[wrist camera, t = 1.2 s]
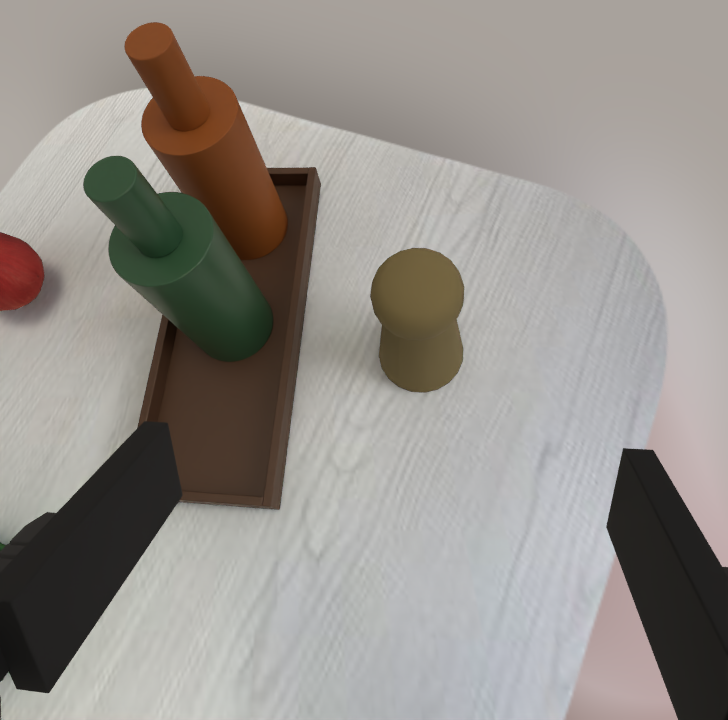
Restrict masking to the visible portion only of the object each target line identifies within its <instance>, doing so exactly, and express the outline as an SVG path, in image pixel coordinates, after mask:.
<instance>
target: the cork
mask: <svg viewBox="0 0 728 720" xmlns="http://www.w3.org/2000/svg"><path fill="white" fill-rule="evenodd" d="M370 297H371V301H372V305H373V309H374V313H375V315H376V316H377V318H378V319H379V321H380V323H381V324H382V329H381V340H380V350H379V358H380V363H381V367H382V369H383V371H384V372H385V374H386V375H387V377H388V379H390V380H391V381H392V382H393V383H395V384H396V385H397V386H398V387H401V388H403V389H406V390H408V391H411V392H429V391H433V390H437V389H439V388H441V387H442V386H444V385H446V384H447V383H449V382H450V381H451V380H452V379H453V377H454V376H455V375H456V374H457V373H458V371H459V368H460V366H461V363H462V361H463V345H462V341H461V337H460V332H459V328H458V324H457V318H458V316H459V313H460V311H461V308H462V306H463V301H464V285H463V282H462V278H461V275H460V273H459V271H458V269H457V268H456V267H455V265H454V264H453V263H452V261H451V260H450V259H448V258H447V257H445V256H444V255H442V254H441V253H439V252H436V251H433V250H430V249H426V248H411V249H407V250H403V251H400V252H398V253H396V254H394V255H393V256H391V257H389V258H388V259H387V260H386V261H385V262H384V263H383V264H382V265H381V266H380V267H379V268H378V270H377V272H376V274H375V277H374V279H373V282H372V287H371V296H370Z"/></svg>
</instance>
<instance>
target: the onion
mask: <svg viewBox="0 0 728 720" xmlns="http://www.w3.org/2000/svg"><path fill="white" fill-rule="evenodd" d="M43 280H44V270H43V264H42V260H41V258H40V257H39V256H38V254H37V253H36V252H35V251H34V250H33V249H32V248H31V247H30V246H29V245H28V244H27V243H26V242H24V241H22V240H21V239H18V238H16V237H13V236H10V235H7V234H4V233H1V232H0V311H2V310H16V309H18V308H20V307H22V306H25V305H27V304H29V303H30V302H31V301H32V300H34V299H35V298H36V297H37V295H38V294H39V292H40V290H41V287H42V284H43Z"/></svg>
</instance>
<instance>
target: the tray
mask: <svg viewBox="0 0 728 720" xmlns="http://www.w3.org/2000/svg"><path fill="white" fill-rule="evenodd" d="M267 170H268V173H269V175H270V177H271V180H272V182H273V184H274V187H275V189H276V191H277V194H278V196H279V198H280V201H281V203H282V205H283V208H284V210H285V212H286V215H287V219H288V227H287V232H286V234H285V237H284V239H283V240H282V242H281V243H280V244H279V246H278V247H277V248H276V249H274V250H273V251H272V252H270V253H269V254H267V255H265V256H263V257H261V258H257V259H252V260H241V262H242V263H243V265H244V266H245V268H246V269H247V271H248V272H249V274H250V275H251V277H252V278H253V280H254V282H255V283H256V285H257V286H258V288H259V289H260V291H261V292H262V294H263V295H264V297H265V298H266V300H267V302H268V303H269V305H270V307H271V309H272V313H273V327H272V331H271V334H270V336H269V338H268V340H267V342H266V343H265V344H264V346H263V347H262V348H261V349H260V350H259V351H258V352H256V353H255V354H253V355H252V356H250V357H248V358H246V359H243V360H239V361H234V362H226V361H220V360H217V359H214V358H212V357H211V356H209V355H208V354H206V353H205V352H204V351H203V350H202V349H201V348H200V347H199V346H197V345H196V344H195V343H194V342H193V341H192V340H191V339H190V338H188V337H187V336H186V335H185V334H184V333H183V332H182V331H181V330H180V329H178V328H177V327H176V326H175V325H174V324H173V323H172V322H171V321H169V320H168V319H167V318H166V317H165V316H164V315H163V314H162V319H161V324H160V328H159V333H158V337H157V342H156V346H155V351H154V355H153V360H152V364H151V369H150V373H149V378H148V382H147V387H146V391H145V396H144V400H143V405H142V409H141V414H140V419H139V423H138V427H139V426H140V425H141V424H142V423H143V422H144V421H149V422H166V423H168V426H169V431H170V435H171V440H172V445H173V450H174V455H175V460H176V465H177V470H178V474H179V479H180V484H181V489H182V494H183V496H182V497H181V499H180V500H179V501H178V502H187V503H200V504H213V505H226V506H239V507H253V508H266V509H280V502H281V494H282V486H283V478H284V470H285V462H286V455H287V447H288V439H289V431H290V423H291V415H292V407H293V399H294V392H295V384H296V376H297V368H298V360H299V352H300V344H301V336H302V329H303V321H304V313H305V305H306V297H307V289H308V281H309V273H310V266H311V258H312V250H313V242H314V234H315V226H316V218H317V210H318V203H319V195H320V187H321V183H320V180H319V177H318V173H317V170H316V168H315V167H311V168H267Z"/></svg>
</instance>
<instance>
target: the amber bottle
mask: <svg viewBox="0 0 728 720" xmlns="http://www.w3.org/2000/svg"><path fill="white" fill-rule="evenodd" d="M125 51H126V54H127V55H128V57H129V59H130V60H131V62H132V64H133V65H134V67H135V68H136V70H137V71H138V73H139V75H140V76H141V78H142V80H143V82H144V83H145V85H146V86H147V88H148V90H149V91H150V93H151V95H152V96H153V98H152V99H151V100H150V102H149V103H148V105H147V107H146V109H145V111H144V113H143V116H142V124H141V127H142V133H143V136H144V138H145V140H146V141H147V143H148V144H149V146H150V147H151V149H152V150H153V152H154V153H155V154H156V156H157V157H158V159H159V160H160V162H161V163H162V165H163V166H164V167H165V169H166V170H167V172H168V173H169V175H170V176H171V178H172V179H173V180H174V182H175V183H176V185H177V186H178V188H179V189H180V191H181V192H182V193H184V194H187V195H190V196H192V197H194V198H196V199H197V200H199V201H200V202H201V203H202V204H204V205H205V207H206V208H207V209H208V211H209V212H210V214H211V215H212V217H213V218H214V220H215V222H216V223H217V225H218V226H219V228H220V229H221V231H222V232H223V234H224V235H225V237H226V238H227V240H228V242H229V243H230V245H231V246H232V248H233V249H234V251H235V252H236V254H237V255H238V257H239V258H240V260H252V259H257V258H261V257H263V256H265V255H267V254H269V253H270V252H272V251H273V250H274V249H276V248H277V247H278V246H279V244H280V243H281V242H282V240H283V239H284V237H285V234H286V232H287V227H288V219H287V215H286V212H285V210H284V208H283V205H282V203H281V201H280V198H279V196H278V194H277V191H276V189H275V187H274V184H273V182H272V180H271V177H270V175H269V173H268V170H267V168H266V166H265V163H264V161H263V159H262V156H261V154H260V152H259V149H258V147H257V145H256V142H255V140H254V138H253V135H252V133H251V131H250V128H249V126H248V124H247V121H246V119H245V117H244V114H243V112H242V110H241V107H240V105H239V103H238V100H237V98H236V96H235V94H234V92H233V91H232V89H231V88H230V87H229V86H228V85H226V84H225V83H224V82H222V81H220V80H218V79H215V78H211V77H205V76H196V77H194V75H193V73H192V71H191V69H190V67H189V65H188V63H187V61H186V59H185V57H184V55H183V53H182V51H181V48H180V47H179V45H178V43H177V40H176V39H175V36H174V34H173V32H172V31H171V29H170V28H169V27H168V26H167V25H165V24H162V23H157V22H154V23H147V24H144V25H141V26H139V27H138V28H136V29H135V30H133V31H132V32H131V33H130V34H129V36H128V37H127V39H126V41H125Z"/></svg>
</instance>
